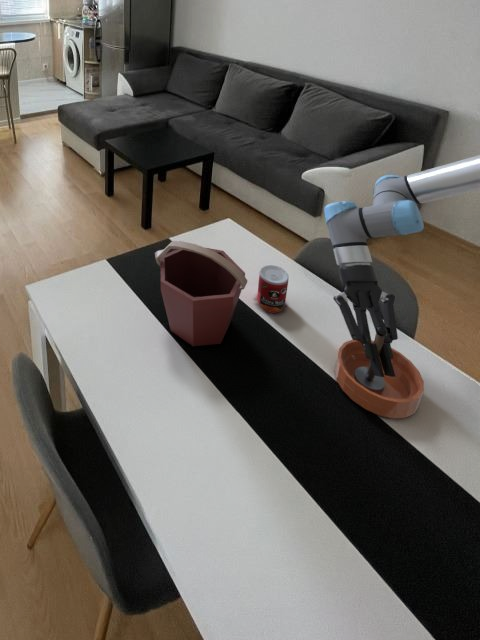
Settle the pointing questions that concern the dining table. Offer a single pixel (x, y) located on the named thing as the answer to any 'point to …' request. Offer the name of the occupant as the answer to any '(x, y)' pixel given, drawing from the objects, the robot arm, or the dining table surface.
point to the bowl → (398, 390)
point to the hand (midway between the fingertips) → (384, 375)
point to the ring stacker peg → (366, 373)
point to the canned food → (272, 288)
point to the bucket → (199, 291)
